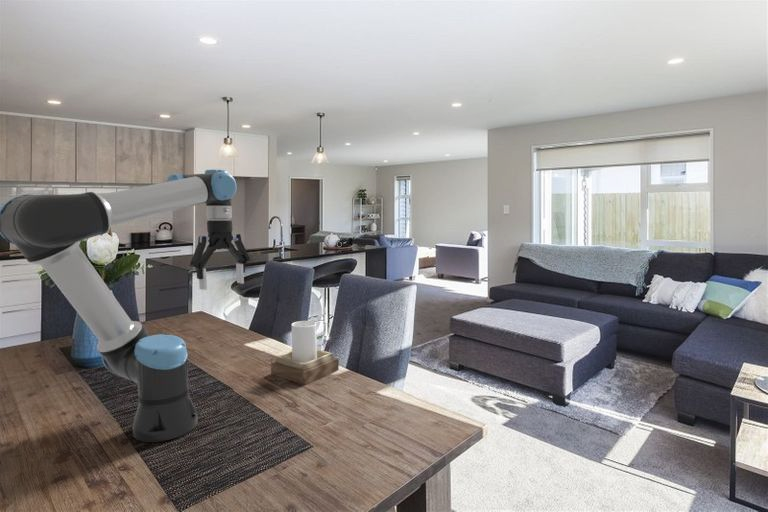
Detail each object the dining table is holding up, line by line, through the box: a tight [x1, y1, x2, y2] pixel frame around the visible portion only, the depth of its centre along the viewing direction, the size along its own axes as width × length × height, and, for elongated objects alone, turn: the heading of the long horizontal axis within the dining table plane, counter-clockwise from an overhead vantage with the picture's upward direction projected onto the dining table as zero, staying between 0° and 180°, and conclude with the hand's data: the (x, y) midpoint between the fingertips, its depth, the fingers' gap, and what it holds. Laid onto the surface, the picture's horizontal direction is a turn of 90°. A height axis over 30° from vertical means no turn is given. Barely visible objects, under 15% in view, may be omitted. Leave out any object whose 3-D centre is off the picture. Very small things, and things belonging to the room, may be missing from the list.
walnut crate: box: [270, 356, 340, 386], centre depth 152 cm, size 16×16×5 cm
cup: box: [291, 320, 318, 363], centre depth 151 cm, size 8×8×16 cm
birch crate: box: [275, 348, 334, 371], centre depth 152 cm, size 13×13×6 cm
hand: (222, 286), depth 143 cm, fingers open, 13 cm apart
